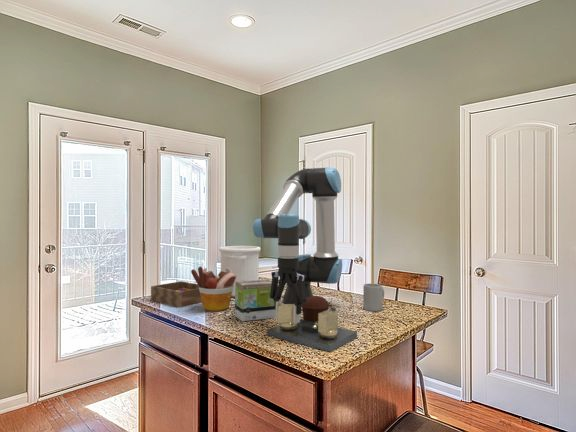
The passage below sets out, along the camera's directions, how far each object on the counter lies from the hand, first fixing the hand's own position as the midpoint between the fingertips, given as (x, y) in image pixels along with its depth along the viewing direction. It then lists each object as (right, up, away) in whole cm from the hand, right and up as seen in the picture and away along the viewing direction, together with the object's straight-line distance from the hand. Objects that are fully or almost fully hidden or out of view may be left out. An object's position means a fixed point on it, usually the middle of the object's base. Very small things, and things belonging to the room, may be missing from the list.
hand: (287, 320), depth 133 cm
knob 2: (+14, -2, -9) cm, 16 cm away
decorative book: (-53, -4, +51) cm, 73 cm away
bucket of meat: (-33, -5, +36) cm, 49 cm away
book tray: (-53, -4, +51) cm, 73 cm away
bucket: (-26, -5, +68) cm, 73 cm away
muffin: (+11, -5, +16) cm, 20 cm away
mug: (+40, -5, +38) cm, 55 cm away
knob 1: (0, -2, 0) cm, 2 cm away
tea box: (-13, -5, +22) cm, 26 cm away
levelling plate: (+8, -5, -2) cm, 10 cm away
